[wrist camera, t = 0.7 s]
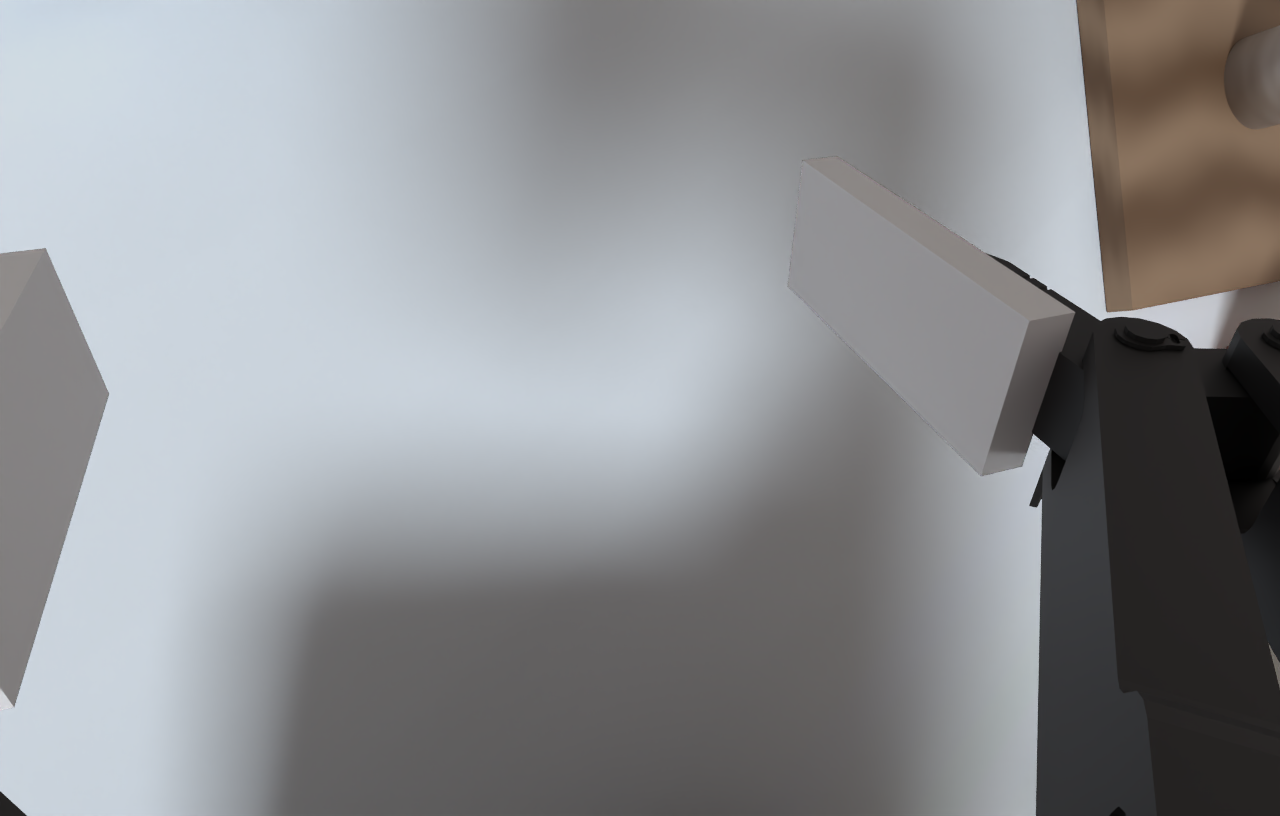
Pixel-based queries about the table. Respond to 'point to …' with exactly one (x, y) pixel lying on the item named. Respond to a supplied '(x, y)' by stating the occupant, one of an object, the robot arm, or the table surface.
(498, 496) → the table surface
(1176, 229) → the base
